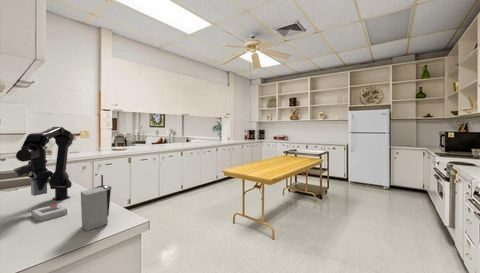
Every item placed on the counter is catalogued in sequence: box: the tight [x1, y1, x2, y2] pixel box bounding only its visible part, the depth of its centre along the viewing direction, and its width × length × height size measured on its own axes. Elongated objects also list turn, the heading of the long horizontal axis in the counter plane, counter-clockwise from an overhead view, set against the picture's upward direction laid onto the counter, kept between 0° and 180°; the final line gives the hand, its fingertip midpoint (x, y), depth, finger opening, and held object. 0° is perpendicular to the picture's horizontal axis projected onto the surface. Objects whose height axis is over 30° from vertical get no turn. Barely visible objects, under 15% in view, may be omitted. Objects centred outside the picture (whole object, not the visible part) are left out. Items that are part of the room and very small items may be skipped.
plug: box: [30, 179, 48, 197], centre depth 108 cm, size 4×5×7 cm
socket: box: [30, 203, 68, 222], centre depth 104 cm, size 12×10×3 cm
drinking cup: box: [92, 174, 112, 216], centre depth 103 cm, size 8×8×20 cm
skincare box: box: [80, 187, 109, 232], centre depth 93 cm, size 8×7×16 cm
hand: (38, 189), depth 108 cm, fingers closed on plug, 4 cm apart
